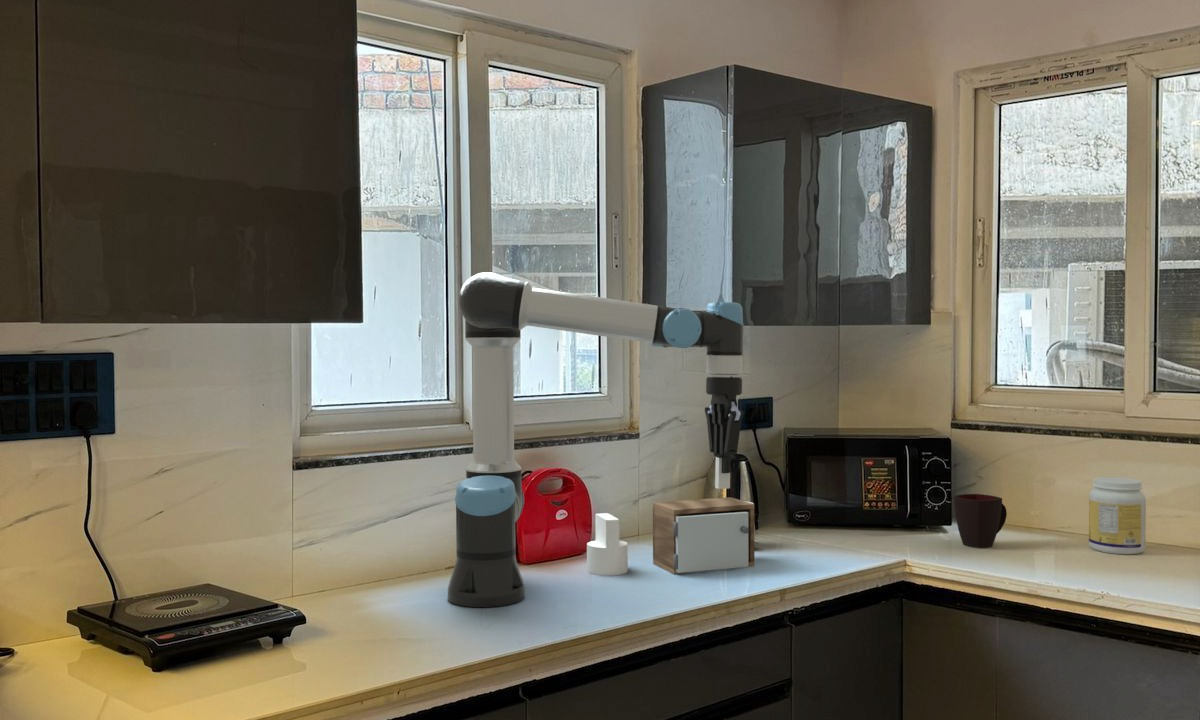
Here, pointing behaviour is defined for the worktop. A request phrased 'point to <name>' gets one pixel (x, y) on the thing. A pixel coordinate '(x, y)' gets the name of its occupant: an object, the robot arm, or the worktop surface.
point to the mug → (979, 518)
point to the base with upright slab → (607, 548)
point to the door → (711, 542)
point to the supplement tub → (1117, 516)
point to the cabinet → (670, 510)
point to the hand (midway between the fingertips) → (722, 488)
